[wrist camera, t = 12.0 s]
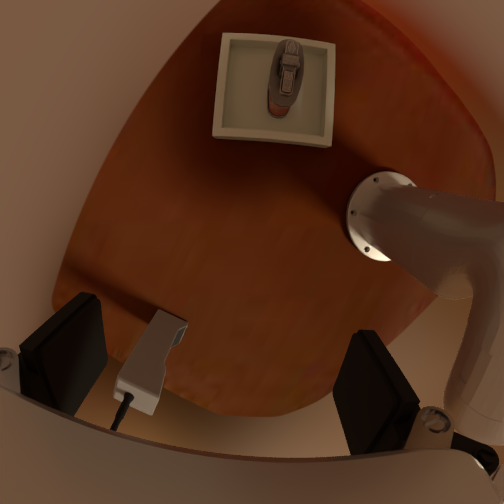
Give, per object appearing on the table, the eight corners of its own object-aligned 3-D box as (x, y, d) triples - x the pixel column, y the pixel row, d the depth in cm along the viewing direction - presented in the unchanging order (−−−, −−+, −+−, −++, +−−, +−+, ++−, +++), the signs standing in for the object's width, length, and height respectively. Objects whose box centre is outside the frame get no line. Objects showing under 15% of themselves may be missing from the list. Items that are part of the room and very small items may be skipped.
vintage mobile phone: (181, 339, 43) (131, 472, 19) (152, 326, 42) (83, 450, 18) (189, 321, 42) (137, 459, 18) (159, 307, 41) (84, 433, 17)
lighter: (271, 60, 31) (277, 26, 21) (297, 64, 31) (311, 32, 21) (263, 116, 33) (266, 97, 23) (290, 120, 33) (303, 103, 23)
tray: (328, 53, 31) (335, 44, 28) (324, 148, 35) (331, 146, 32) (225, 43, 31) (222, 32, 27) (216, 138, 35) (212, 135, 31)
